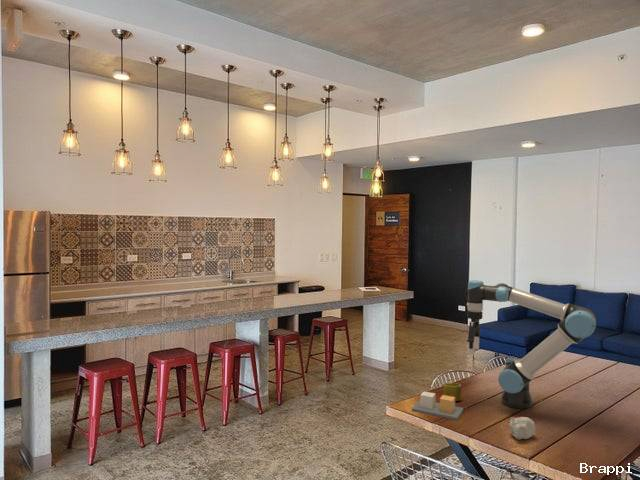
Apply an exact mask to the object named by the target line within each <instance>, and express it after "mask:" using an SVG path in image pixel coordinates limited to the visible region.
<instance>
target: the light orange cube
mask: <svg viewBox="0 0 640 480" xmlns="http://www.w3.org/2000/svg"><path fill="white" fill-rule="evenodd" d="M439 403H440V411H442V412H448V413H453V411H454V410H455V406H456V401H455V397H451V396H446V395H444V394H442V395H441V396H440V397H439Z"/></svg>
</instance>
